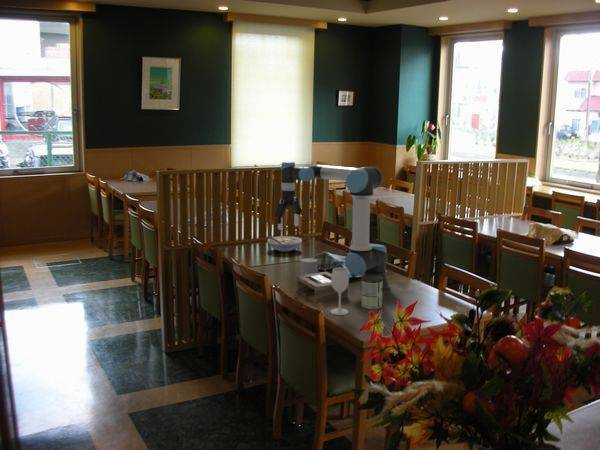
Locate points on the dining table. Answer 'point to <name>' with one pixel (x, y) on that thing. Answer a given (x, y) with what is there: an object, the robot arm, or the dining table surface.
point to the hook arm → (319, 279)
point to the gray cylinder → (308, 266)
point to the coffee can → (371, 291)
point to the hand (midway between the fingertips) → (288, 227)
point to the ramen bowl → (284, 243)
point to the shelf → (319, 287)
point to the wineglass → (339, 287)
